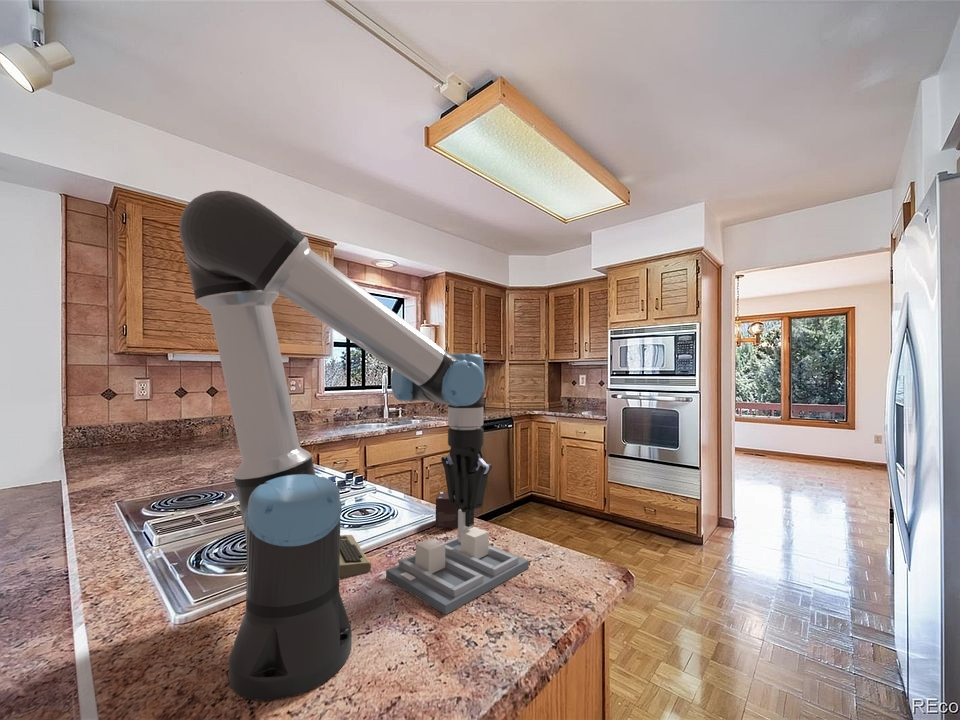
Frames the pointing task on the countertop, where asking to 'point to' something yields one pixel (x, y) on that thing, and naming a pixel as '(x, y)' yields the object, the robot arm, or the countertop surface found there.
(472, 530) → the tab
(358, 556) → the computer
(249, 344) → the robot arm
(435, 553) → the tab
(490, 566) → the grey compartment tray
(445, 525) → the box
